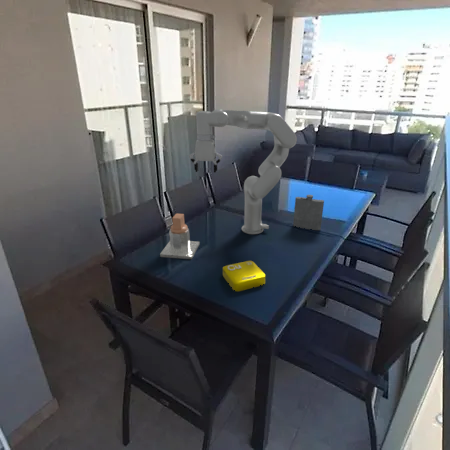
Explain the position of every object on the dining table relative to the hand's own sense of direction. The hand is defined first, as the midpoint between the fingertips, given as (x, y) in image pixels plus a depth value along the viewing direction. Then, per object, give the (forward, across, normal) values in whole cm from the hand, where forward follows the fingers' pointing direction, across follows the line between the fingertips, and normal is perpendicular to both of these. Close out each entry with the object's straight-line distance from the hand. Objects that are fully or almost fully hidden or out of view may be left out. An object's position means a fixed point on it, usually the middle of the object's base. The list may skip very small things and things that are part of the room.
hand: (206, 171), depth 165 cm
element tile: (+37, -25, +40) cm, 60 cm away
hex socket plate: (+36, +10, +20) cm, 43 cm away
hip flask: (+37, -55, -18) cm, 68 cm away
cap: (+28, +10, +20) cm, 36 cm away
